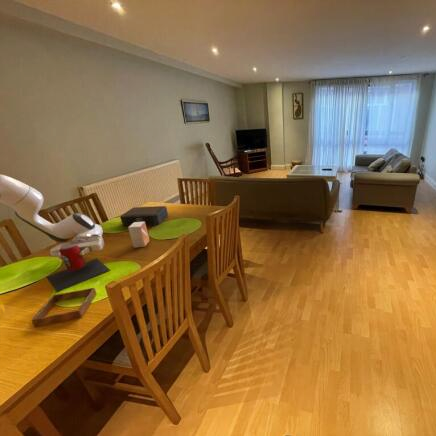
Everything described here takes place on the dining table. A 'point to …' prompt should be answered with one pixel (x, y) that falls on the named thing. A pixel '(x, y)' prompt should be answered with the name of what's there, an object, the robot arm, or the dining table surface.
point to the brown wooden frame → (42, 320)
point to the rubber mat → (77, 275)
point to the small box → (139, 234)
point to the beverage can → (71, 256)
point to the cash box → (145, 215)
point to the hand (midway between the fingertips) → (70, 255)
